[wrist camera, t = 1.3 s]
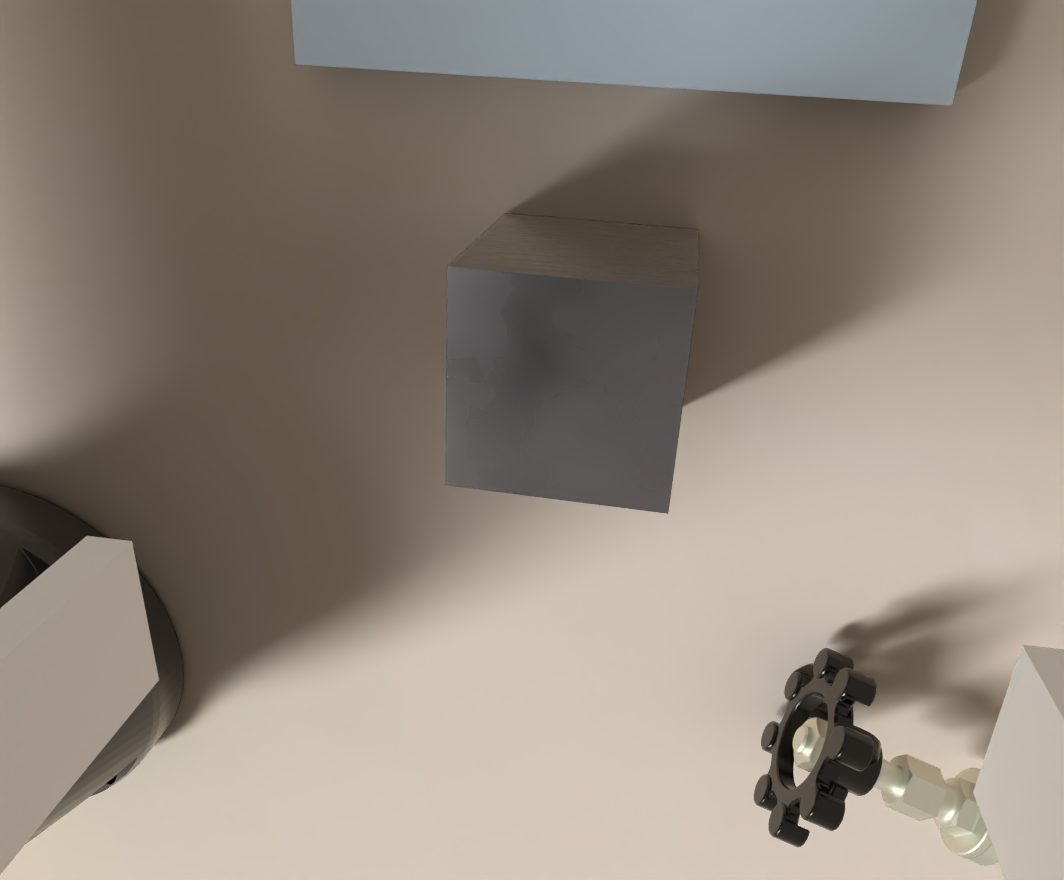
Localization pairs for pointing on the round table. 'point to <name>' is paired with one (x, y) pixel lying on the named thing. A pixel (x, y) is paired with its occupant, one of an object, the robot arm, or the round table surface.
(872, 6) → the board
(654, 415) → the brushed metal cube
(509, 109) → the round table surface
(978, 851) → the valve
